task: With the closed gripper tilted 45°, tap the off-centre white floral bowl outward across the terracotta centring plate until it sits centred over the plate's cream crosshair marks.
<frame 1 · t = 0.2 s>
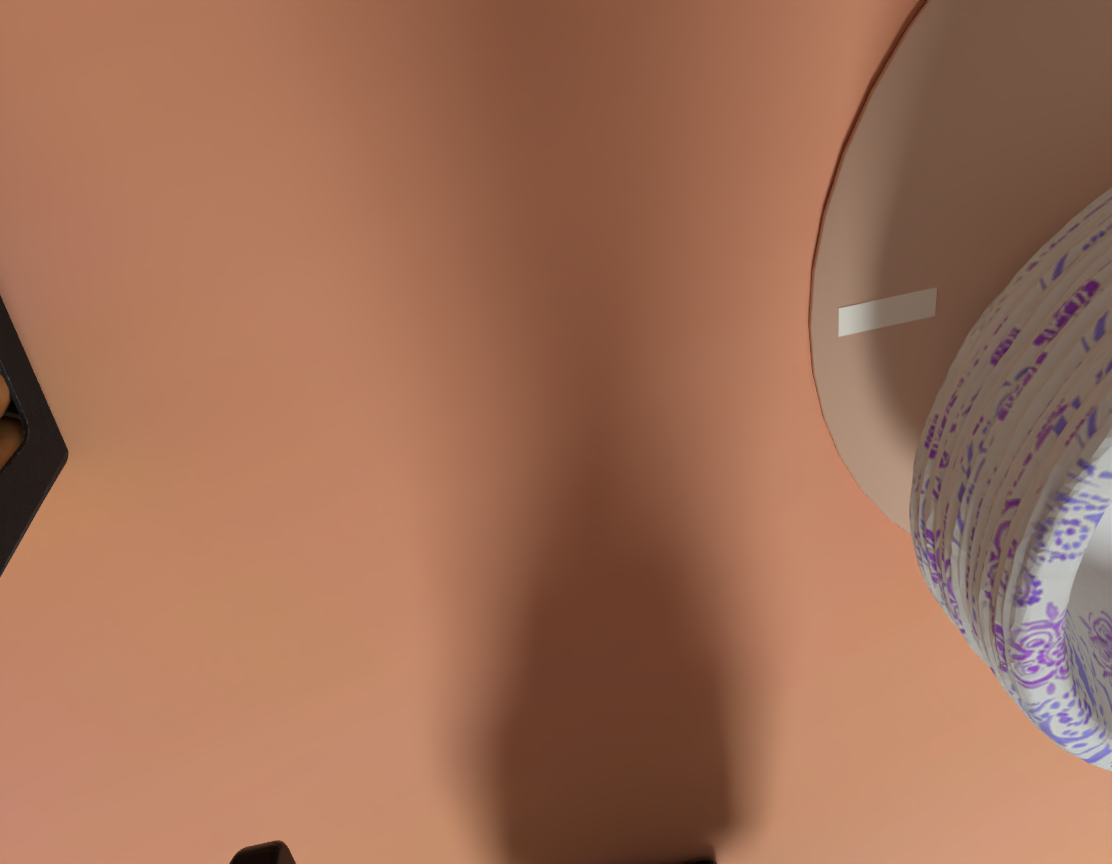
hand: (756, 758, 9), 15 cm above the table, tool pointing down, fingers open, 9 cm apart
white floral bowl: (1105, 364, 26), resting on centring plate
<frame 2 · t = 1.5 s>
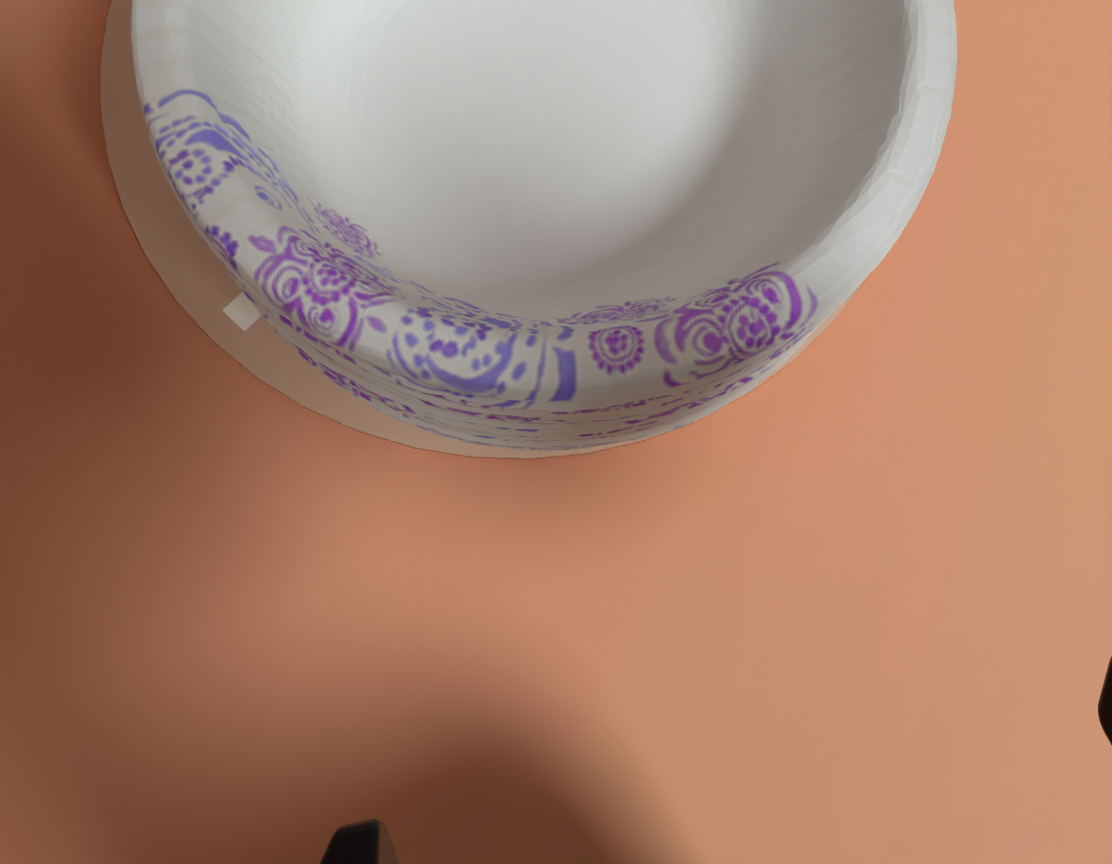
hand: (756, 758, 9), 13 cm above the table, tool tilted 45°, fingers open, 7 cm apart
white floral bowl: (542, 194, 25), resting on centring plate
centring plate: (516, 60, 26), on the table
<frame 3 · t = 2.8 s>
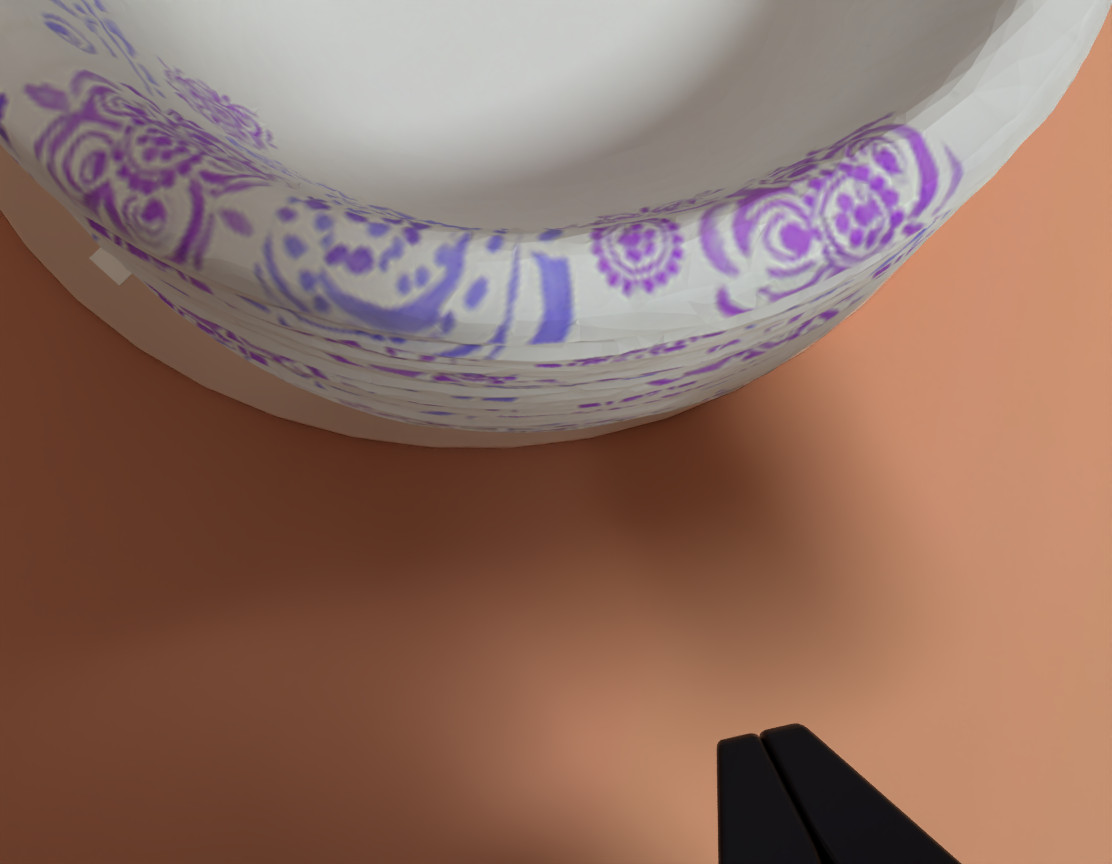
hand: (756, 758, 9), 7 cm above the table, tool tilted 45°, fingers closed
white floral bowl: (520, 95, 19), resting on centring plate
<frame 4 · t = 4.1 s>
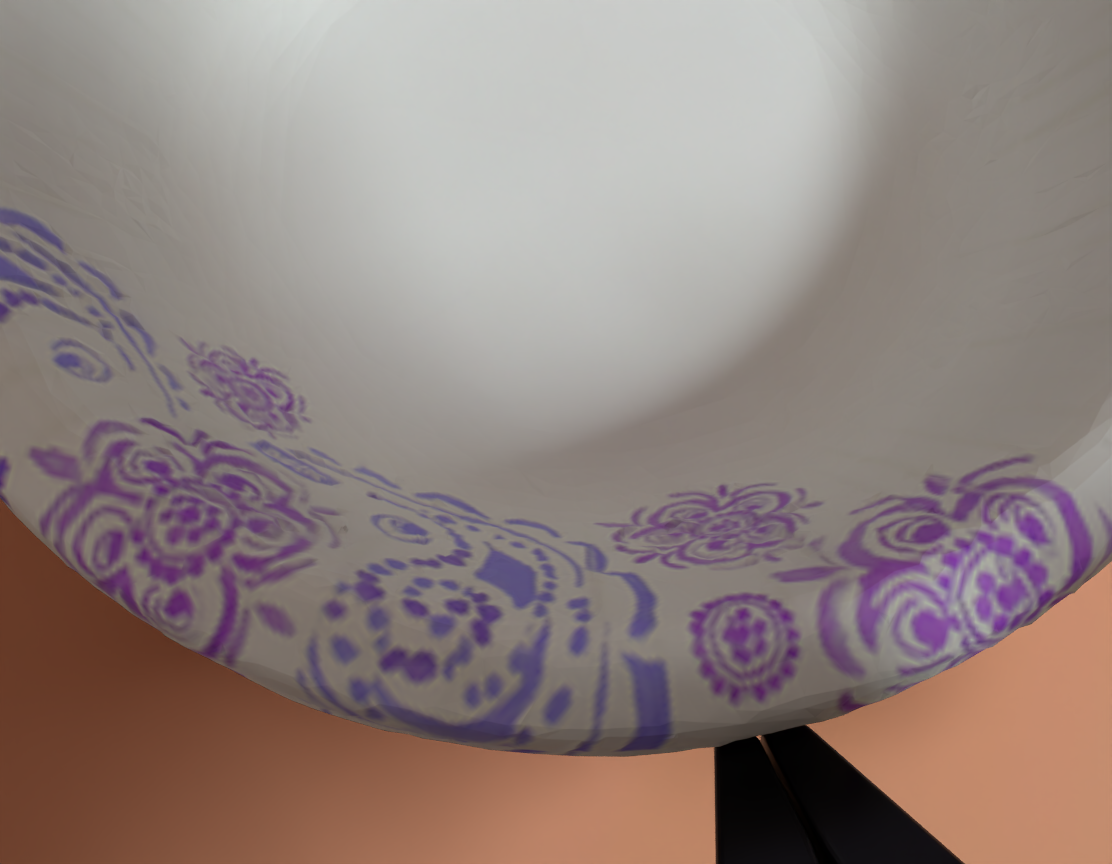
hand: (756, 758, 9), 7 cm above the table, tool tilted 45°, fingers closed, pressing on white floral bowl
white floral bowl: (562, 279, 17), resting on centring plate, touching gripper
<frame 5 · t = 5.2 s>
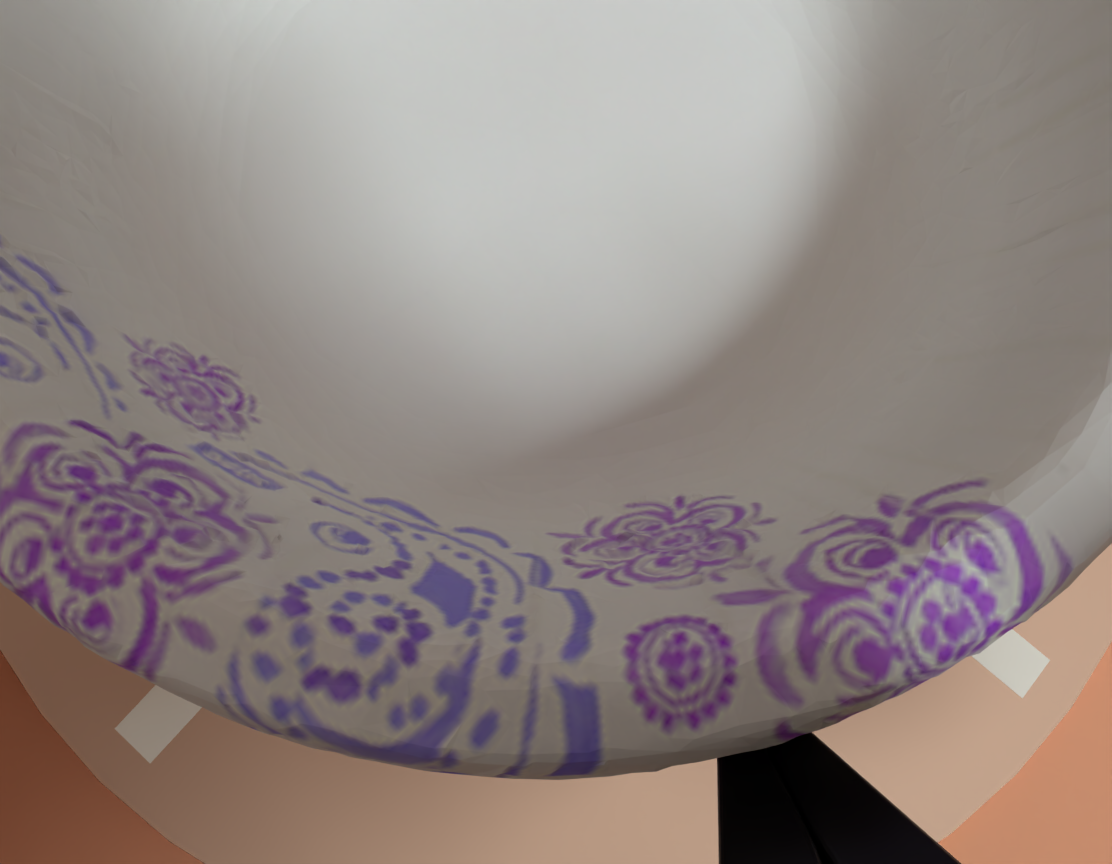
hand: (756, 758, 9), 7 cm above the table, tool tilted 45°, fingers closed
white floral bowl: (536, 276, 17), resting on centring plate, touching gripper
centring plate: (560, 289, 17), on the table
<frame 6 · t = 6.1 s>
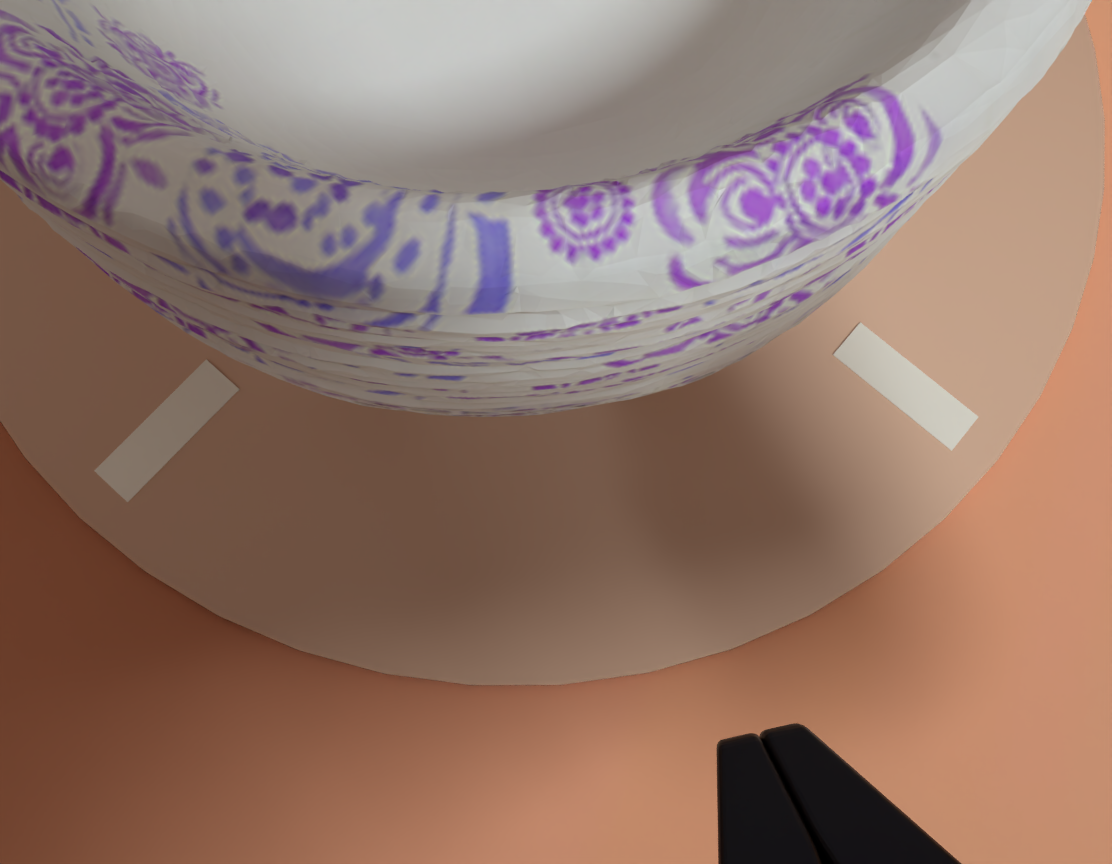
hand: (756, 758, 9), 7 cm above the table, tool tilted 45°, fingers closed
white floral bowl: (497, 70, 18), resting on centring plate
centring plate: (520, 82, 18), on the table
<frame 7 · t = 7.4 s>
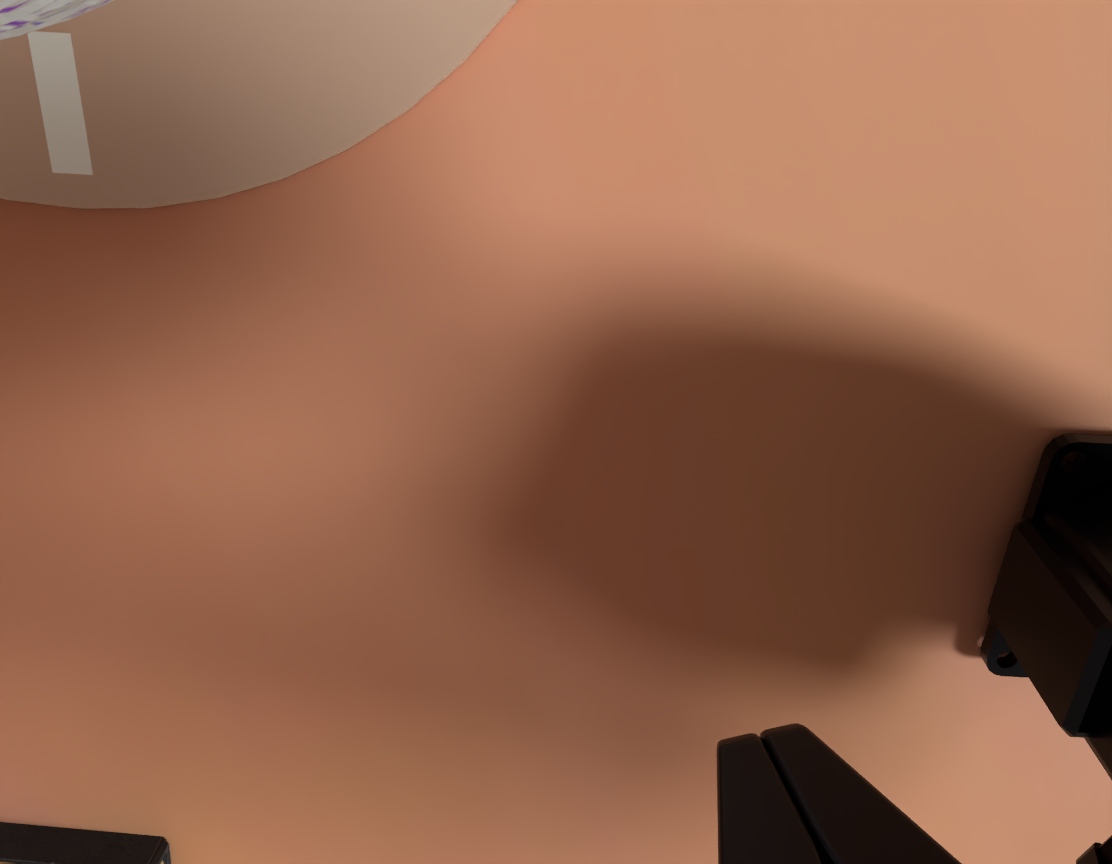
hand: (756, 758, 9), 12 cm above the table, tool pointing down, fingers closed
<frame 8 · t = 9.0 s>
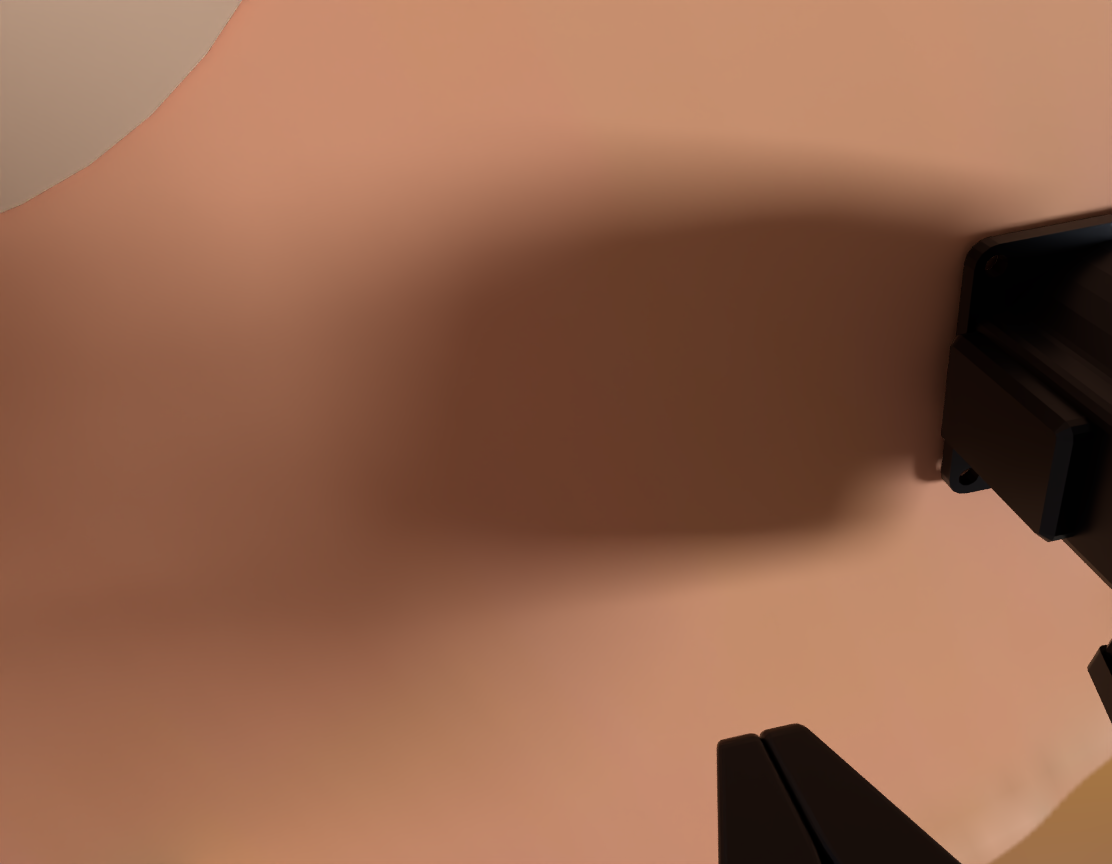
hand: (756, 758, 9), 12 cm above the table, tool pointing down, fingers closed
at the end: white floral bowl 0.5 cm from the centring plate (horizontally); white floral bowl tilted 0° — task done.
